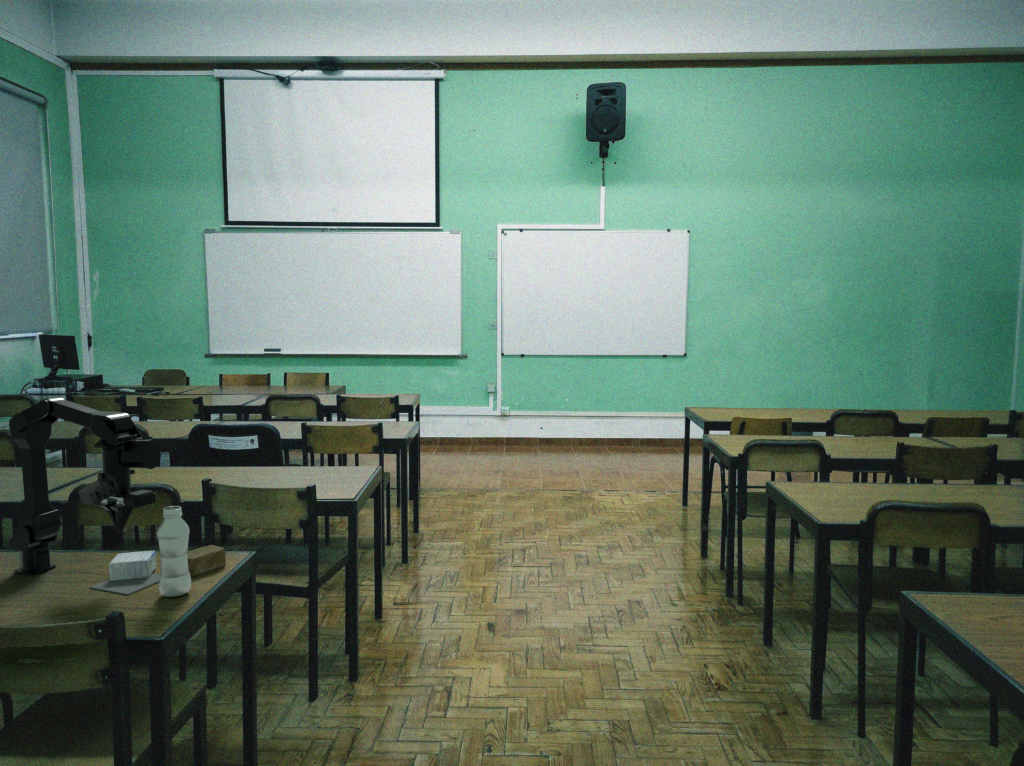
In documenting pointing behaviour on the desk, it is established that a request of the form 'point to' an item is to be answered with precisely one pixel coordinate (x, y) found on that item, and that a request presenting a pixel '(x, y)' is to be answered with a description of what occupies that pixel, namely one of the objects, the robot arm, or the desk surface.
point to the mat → (127, 584)
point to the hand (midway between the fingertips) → (119, 531)
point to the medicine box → (132, 565)
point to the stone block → (205, 559)
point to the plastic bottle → (173, 553)
